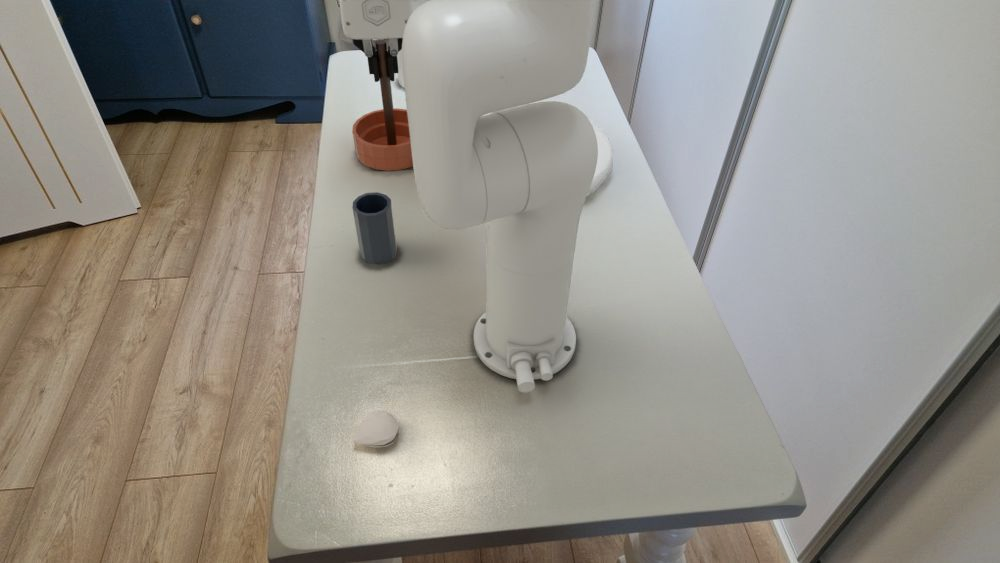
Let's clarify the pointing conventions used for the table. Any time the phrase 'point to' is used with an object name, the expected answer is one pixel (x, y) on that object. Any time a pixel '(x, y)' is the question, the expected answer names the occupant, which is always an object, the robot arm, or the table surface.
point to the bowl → (383, 141)
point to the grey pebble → (377, 430)
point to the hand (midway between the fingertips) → (384, 76)
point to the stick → (386, 92)
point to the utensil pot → (375, 228)
